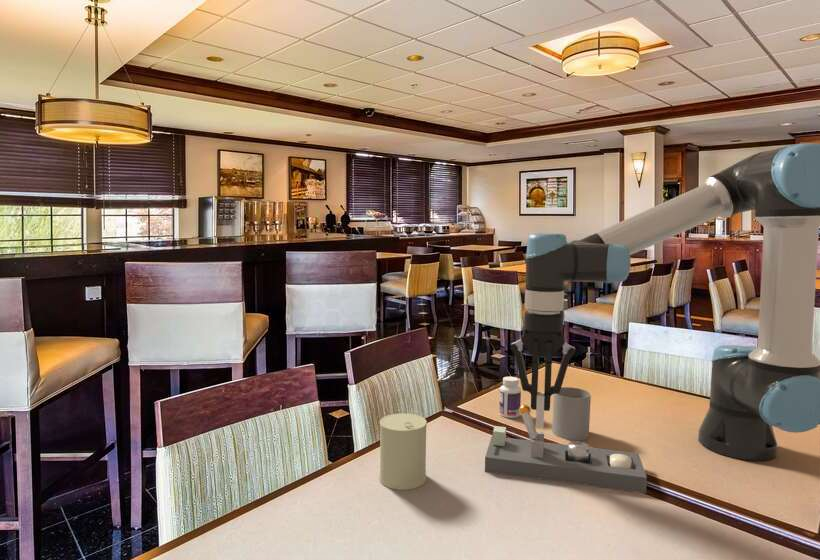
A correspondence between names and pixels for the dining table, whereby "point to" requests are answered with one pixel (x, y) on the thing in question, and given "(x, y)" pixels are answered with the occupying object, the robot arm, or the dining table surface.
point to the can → (402, 451)
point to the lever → (528, 422)
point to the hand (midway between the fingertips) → (539, 424)
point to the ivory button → (620, 461)
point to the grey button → (578, 452)
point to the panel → (564, 464)
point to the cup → (571, 413)
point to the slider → (499, 436)
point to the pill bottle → (510, 398)
